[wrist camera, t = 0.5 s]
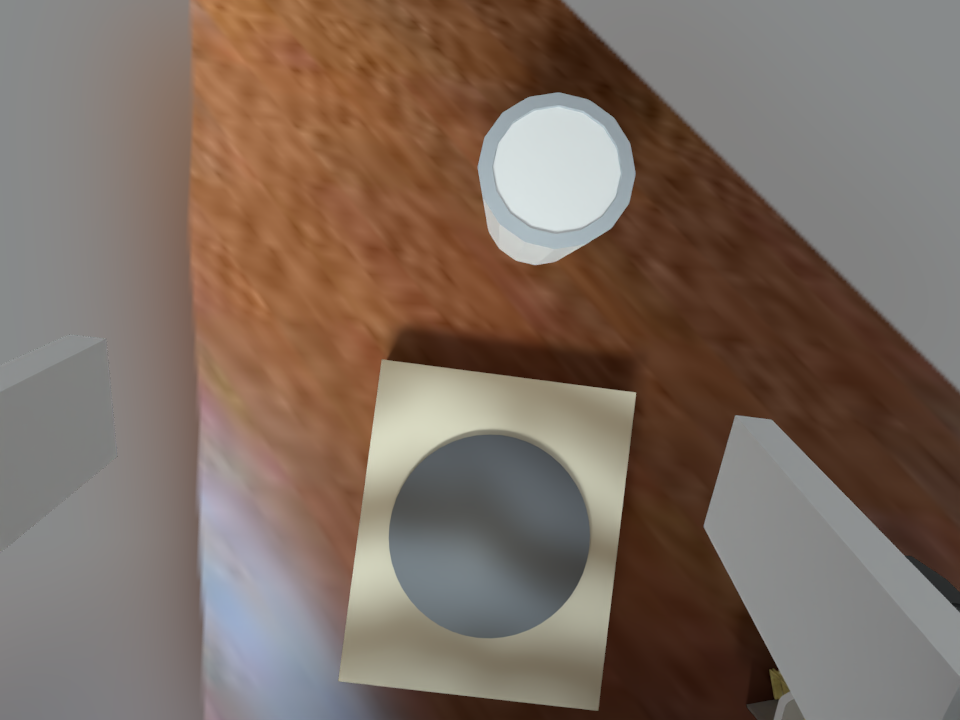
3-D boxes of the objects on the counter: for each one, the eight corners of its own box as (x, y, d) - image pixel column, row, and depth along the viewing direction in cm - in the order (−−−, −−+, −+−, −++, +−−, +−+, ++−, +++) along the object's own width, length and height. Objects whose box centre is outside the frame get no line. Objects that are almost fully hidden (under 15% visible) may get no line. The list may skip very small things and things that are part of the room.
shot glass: (471, 274, 33) (475, 245, 26) (475, 149, 33) (480, 87, 26) (597, 278, 33) (634, 251, 26) (600, 154, 33) (637, 94, 26)
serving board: (589, 690, 32) (599, 714, 30) (345, 662, 32) (336, 684, 30) (625, 391, 33) (638, 392, 31) (386, 360, 33) (381, 359, 30)
